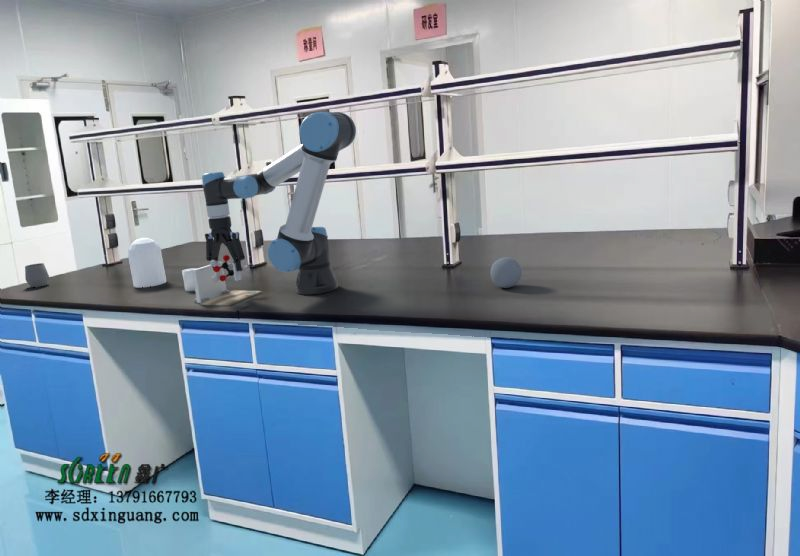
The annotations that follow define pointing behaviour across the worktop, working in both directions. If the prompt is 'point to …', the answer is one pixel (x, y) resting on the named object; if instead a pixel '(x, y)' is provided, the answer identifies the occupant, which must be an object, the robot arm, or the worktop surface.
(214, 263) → the molecular model
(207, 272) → the occluder screen
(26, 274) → the cup
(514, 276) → the decorative stone
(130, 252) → the container
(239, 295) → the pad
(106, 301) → the worktop surface
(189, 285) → the white upright block
